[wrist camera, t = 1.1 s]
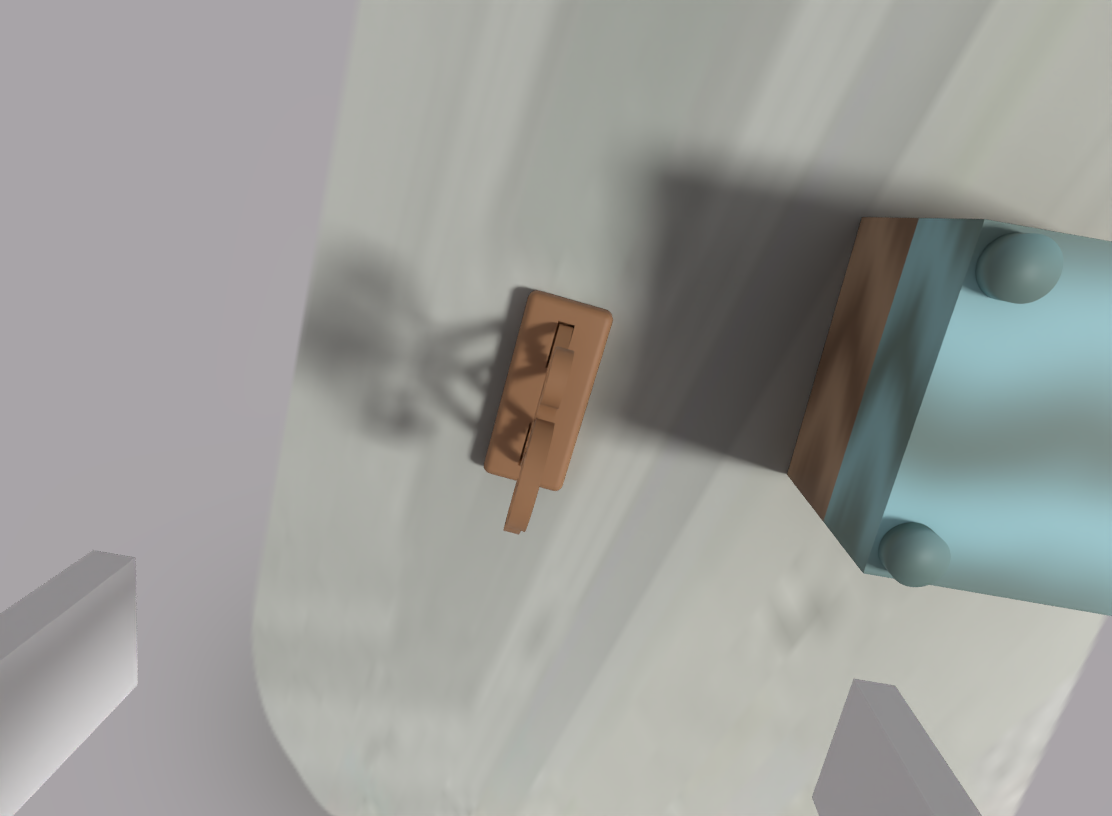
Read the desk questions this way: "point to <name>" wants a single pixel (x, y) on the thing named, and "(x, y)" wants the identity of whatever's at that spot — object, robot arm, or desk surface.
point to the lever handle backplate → (545, 397)
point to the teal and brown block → (968, 411)
